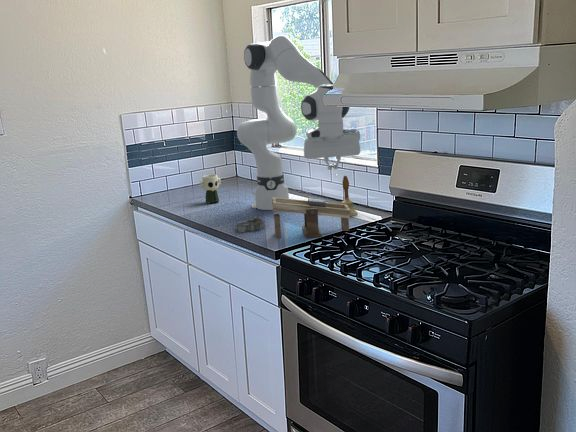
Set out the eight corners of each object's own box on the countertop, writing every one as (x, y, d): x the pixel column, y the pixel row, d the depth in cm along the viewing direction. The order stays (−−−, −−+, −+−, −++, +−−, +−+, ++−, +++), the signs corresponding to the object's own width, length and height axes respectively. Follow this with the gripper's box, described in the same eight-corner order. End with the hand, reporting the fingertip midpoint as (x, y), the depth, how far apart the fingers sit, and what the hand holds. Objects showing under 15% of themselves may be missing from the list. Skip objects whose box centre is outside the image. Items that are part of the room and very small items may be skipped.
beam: (271, 205, 218) (272, 197, 217) (345, 212, 220) (346, 204, 220) (272, 210, 209) (273, 202, 209) (349, 218, 212) (350, 210, 211)
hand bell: (349, 217, 234) (348, 178, 230) (333, 215, 240) (331, 177, 236) (361, 213, 240) (360, 174, 236) (345, 210, 246) (343, 173, 242)
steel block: (307, 207, 217) (308, 197, 216) (323, 208, 218) (324, 199, 217) (308, 210, 212) (309, 200, 211) (324, 211, 213) (325, 202, 212)
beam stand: (274, 230, 223) (272, 203, 221) (344, 224, 224) (343, 197, 222) (276, 240, 209) (274, 212, 207) (351, 234, 210) (349, 206, 208)
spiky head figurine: (205, 205, 272) (203, 178, 269) (198, 203, 278) (195, 176, 275) (226, 201, 278) (223, 174, 275) (218, 199, 284) (216, 173, 281)
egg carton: (261, 225, 233) (260, 215, 232) (266, 229, 226) (265, 219, 225) (234, 228, 230) (234, 218, 229) (239, 233, 223) (238, 223, 222)
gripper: (358, 127, 212) (359, 165, 215) (302, 131, 211) (304, 169, 214) (361, 129, 206) (362, 168, 209) (303, 133, 205) (305, 172, 208)
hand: (332, 169), depth 212 cm, fingers closed
